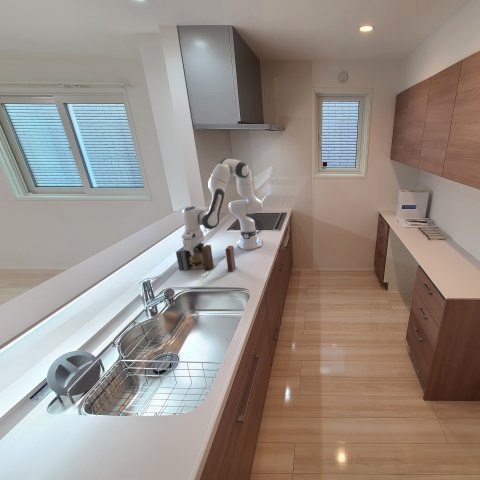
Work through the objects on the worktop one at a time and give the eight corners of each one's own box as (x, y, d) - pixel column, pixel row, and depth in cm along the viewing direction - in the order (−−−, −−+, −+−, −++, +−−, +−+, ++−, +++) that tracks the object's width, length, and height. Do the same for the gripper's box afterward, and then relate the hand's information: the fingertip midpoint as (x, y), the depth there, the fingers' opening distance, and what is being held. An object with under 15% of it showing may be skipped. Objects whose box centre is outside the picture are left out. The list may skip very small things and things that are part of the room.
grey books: (187, 263, 173) (183, 244, 168) (194, 263, 173) (191, 244, 168) (179, 269, 164) (175, 250, 159) (187, 270, 164) (183, 250, 159)
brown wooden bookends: (209, 266, 169) (206, 244, 163) (235, 267, 169) (233, 245, 163) (205, 270, 164) (202, 248, 158) (232, 271, 163) (230, 249, 158)
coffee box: (190, 269, 164) (186, 247, 159) (193, 265, 170) (189, 243, 164) (204, 268, 166) (201, 246, 160) (207, 264, 172) (203, 242, 166)
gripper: (195, 227, 169) (198, 245, 173) (179, 237, 149) (183, 257, 154) (205, 227, 169) (207, 246, 173) (190, 237, 149) (193, 258, 154)
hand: (196, 251), depth 164 cm, fingers open, 8 cm apart
